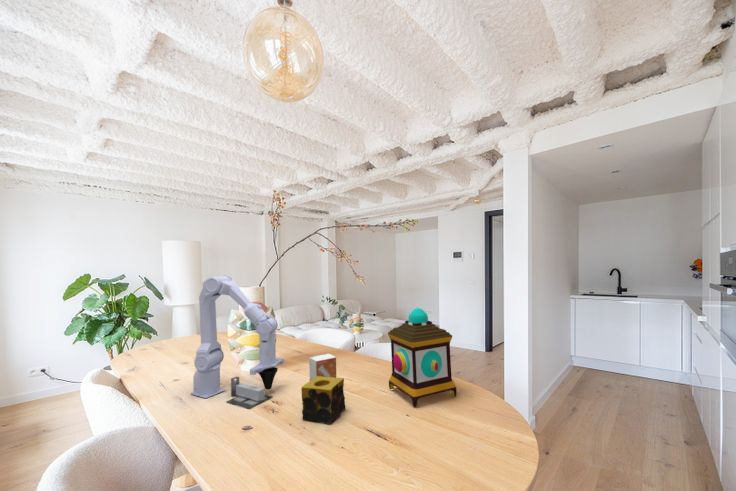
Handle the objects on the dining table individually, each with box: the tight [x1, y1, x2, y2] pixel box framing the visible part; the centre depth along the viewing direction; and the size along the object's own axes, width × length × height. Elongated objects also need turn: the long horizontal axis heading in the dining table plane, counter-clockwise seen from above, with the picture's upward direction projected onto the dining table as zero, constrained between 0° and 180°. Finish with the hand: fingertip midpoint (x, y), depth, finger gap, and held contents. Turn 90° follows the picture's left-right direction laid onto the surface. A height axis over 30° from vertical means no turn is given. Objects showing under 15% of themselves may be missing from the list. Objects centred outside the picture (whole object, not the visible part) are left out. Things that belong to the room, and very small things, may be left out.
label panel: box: [225, 394, 274, 410], centre depth 108 cm, size 12×10×1 cm
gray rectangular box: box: [236, 383, 265, 401], centre depth 109 cm, size 12×2×3 cm, turn 60°
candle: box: [301, 376, 346, 425], centre depth 95 cm, size 10×10×10 cm
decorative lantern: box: [387, 307, 458, 408], centre depth 109 cm, size 20×20×30 cm
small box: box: [308, 353, 337, 381], centre depth 111 cm, size 8×6×13 cm
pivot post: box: [230, 376, 240, 398], centre depth 113 cm, size 3×3×6 cm
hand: (268, 388), depth 113 cm, fingers closed
